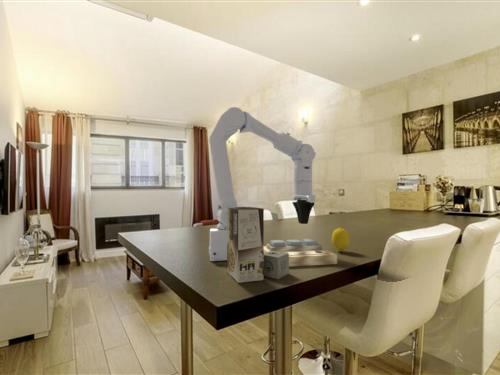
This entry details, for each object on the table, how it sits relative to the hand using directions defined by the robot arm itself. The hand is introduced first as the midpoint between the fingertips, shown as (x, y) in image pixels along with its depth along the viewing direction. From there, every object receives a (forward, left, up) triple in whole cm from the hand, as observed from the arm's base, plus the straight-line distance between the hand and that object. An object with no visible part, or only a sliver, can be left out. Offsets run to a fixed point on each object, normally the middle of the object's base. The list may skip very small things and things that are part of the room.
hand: (303, 223), depth 87 cm
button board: (-5, -7, -9) cm, 13 cm away
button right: (0, -5, -6) cm, 8 cm away
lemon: (+13, -1, -10) cm, 16 cm away
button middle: (-5, -5, -6) cm, 9 cm away
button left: (-10, -5, -6) cm, 13 cm away
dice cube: (-15, -20, -10) cm, 27 cm away
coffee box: (-22, -20, -10) cm, 32 cm away
